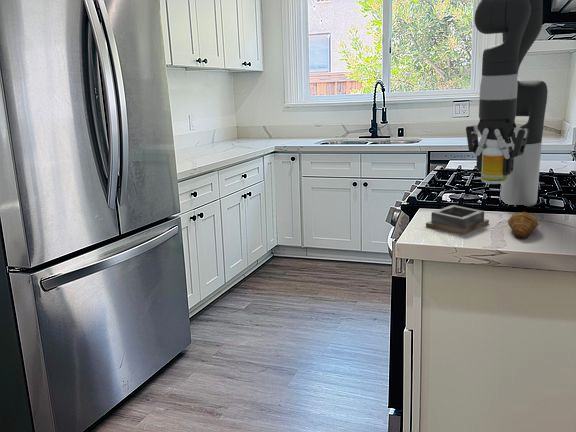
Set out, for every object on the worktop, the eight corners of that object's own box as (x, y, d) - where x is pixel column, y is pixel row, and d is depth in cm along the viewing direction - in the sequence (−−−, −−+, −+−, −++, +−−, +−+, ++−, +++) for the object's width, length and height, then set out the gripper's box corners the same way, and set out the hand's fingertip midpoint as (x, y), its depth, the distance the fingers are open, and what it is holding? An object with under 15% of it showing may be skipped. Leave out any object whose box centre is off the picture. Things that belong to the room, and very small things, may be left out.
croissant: (509, 222, 130) (510, 203, 128) (539, 224, 127) (540, 205, 125) (504, 239, 118) (505, 218, 117) (536, 242, 115) (538, 221, 114)
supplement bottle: (508, 184, 114) (511, 140, 111) (483, 184, 115) (485, 141, 112) (504, 178, 119) (506, 136, 116) (479, 178, 120) (481, 137, 117)
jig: (453, 216, 137) (454, 203, 136) (488, 223, 129) (489, 210, 128) (425, 226, 129) (426, 213, 128) (460, 235, 122) (461, 221, 121)
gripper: (539, 95, 108) (533, 173, 113) (477, 94, 119) (474, 166, 124) (521, 99, 104) (516, 180, 109) (458, 97, 114) (456, 172, 120)
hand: (494, 172), depth 116 cm, fingers closed on supplement bottle, 5 cm apart
